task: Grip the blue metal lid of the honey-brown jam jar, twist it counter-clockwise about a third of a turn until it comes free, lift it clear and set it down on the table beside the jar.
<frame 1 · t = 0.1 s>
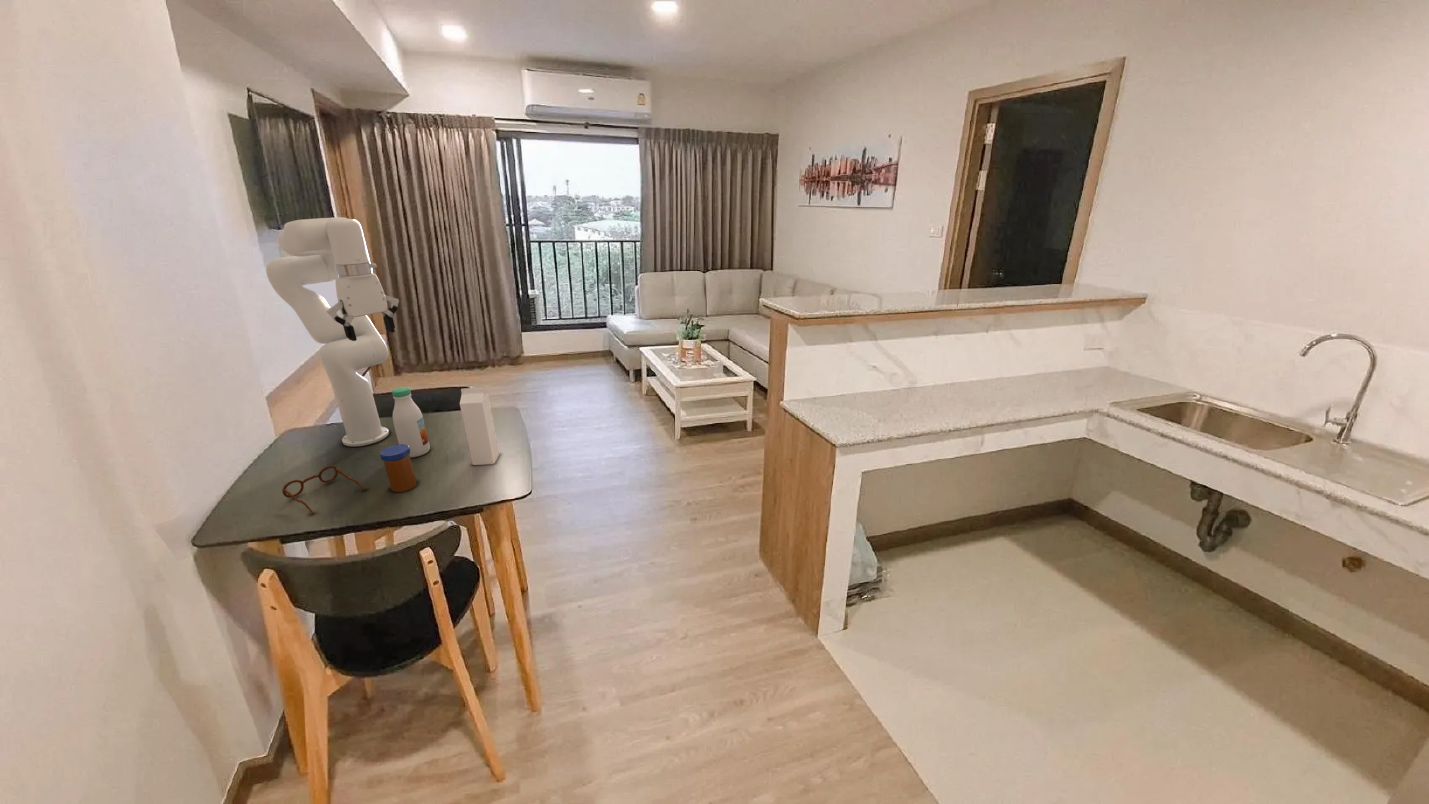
hand: (372, 335, 147), 37 cm above the table, tool pointing down, fingers open, 9 cm apart
milk bottle: (416, 452, 165), on the table
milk: (486, 460, 159), on the table
jar: (404, 486, 146), on the table
glasses: (326, 496, 143), on the table
lid: (394, 451, 142), point 10 cm above the table, screwed on, not yet turned
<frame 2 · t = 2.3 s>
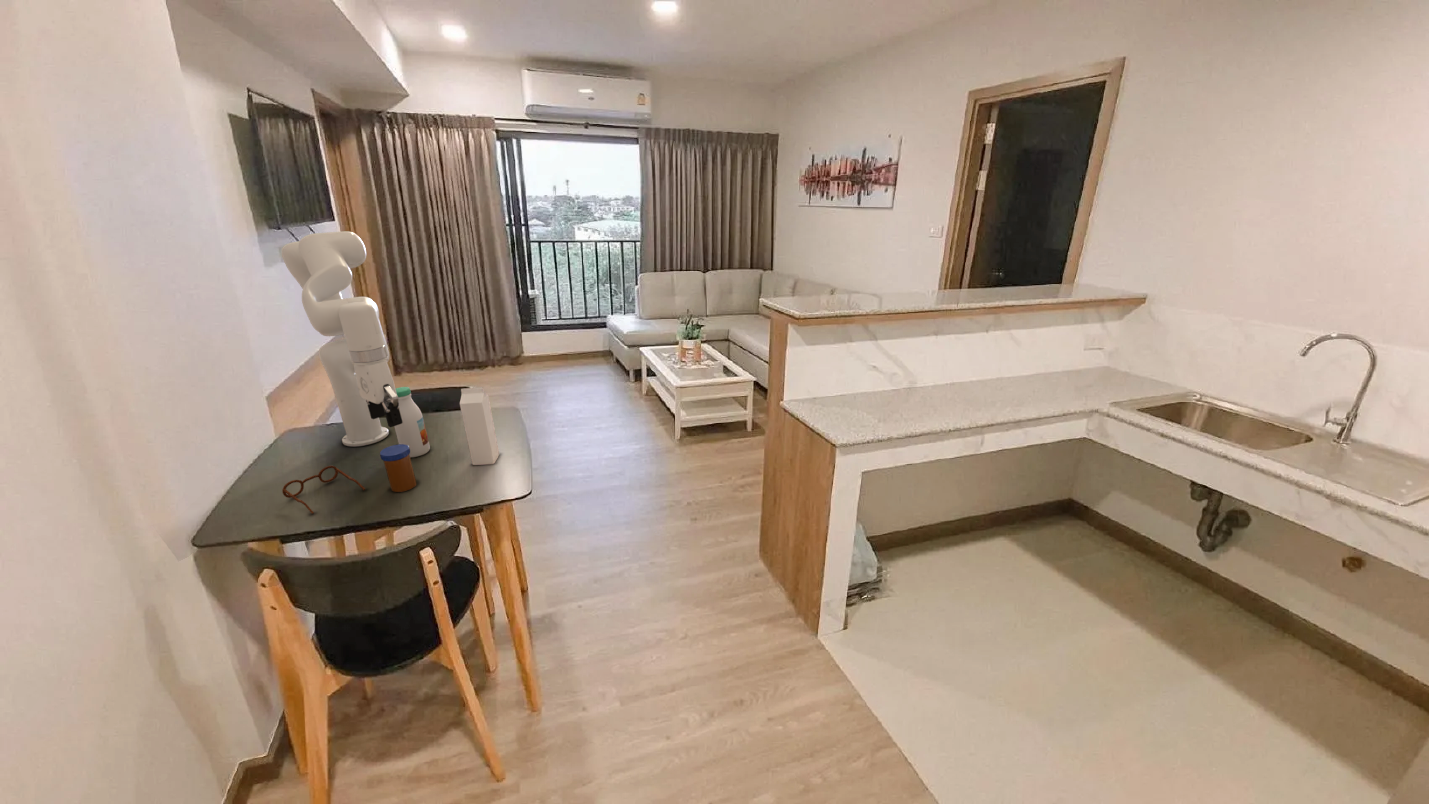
hand: (386, 421, 139), 19 cm above the table, tool pointing down, fingers open, 8 cm apart
nothing on the table moved.
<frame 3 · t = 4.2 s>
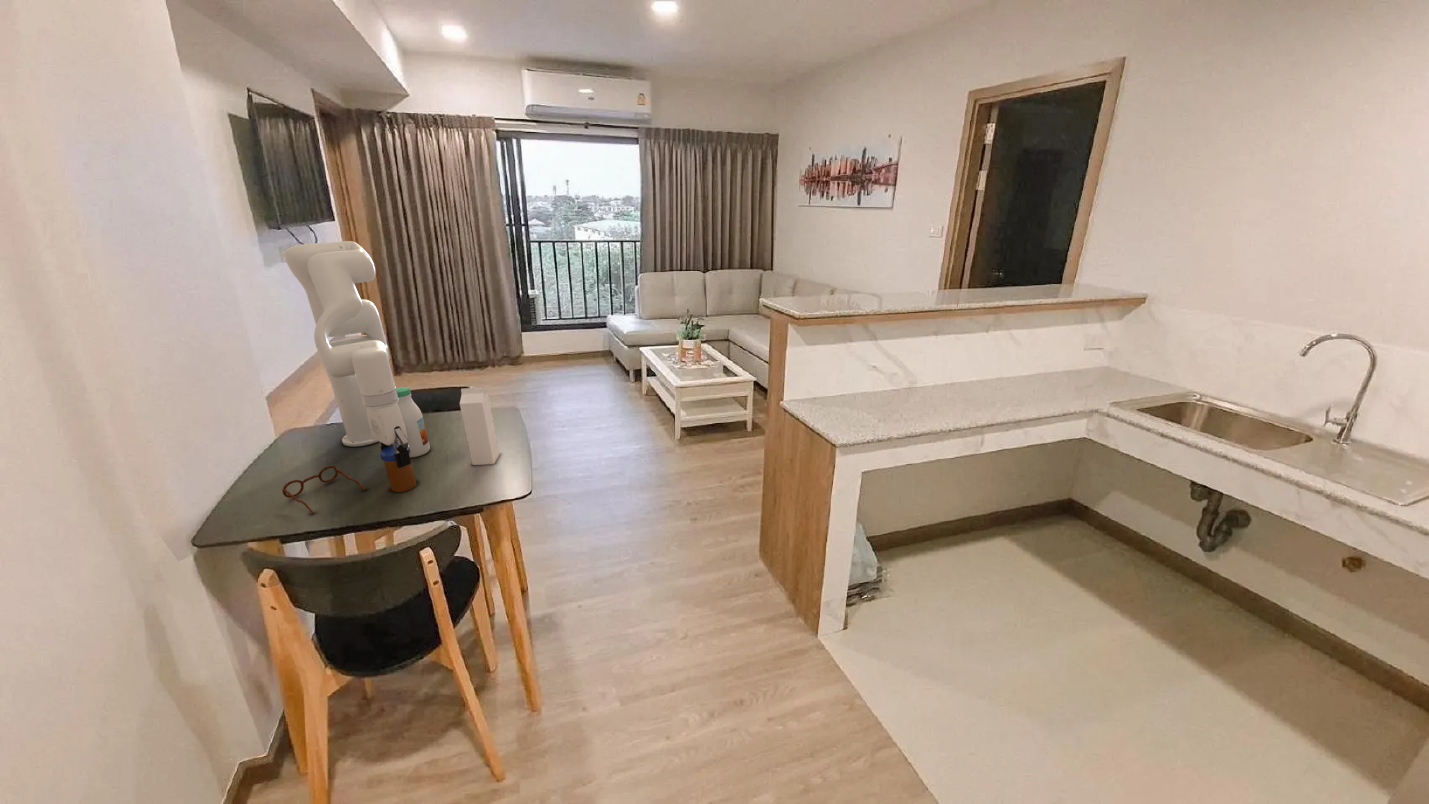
hand: (397, 461, 144), 7 cm above the table, tool pointing down, fingers closed on lid, 6 cm apart
lid: (394, 451, 142), point 10 cm above the table, screwed on, not yet turned, touching gripper
everything else where it was.
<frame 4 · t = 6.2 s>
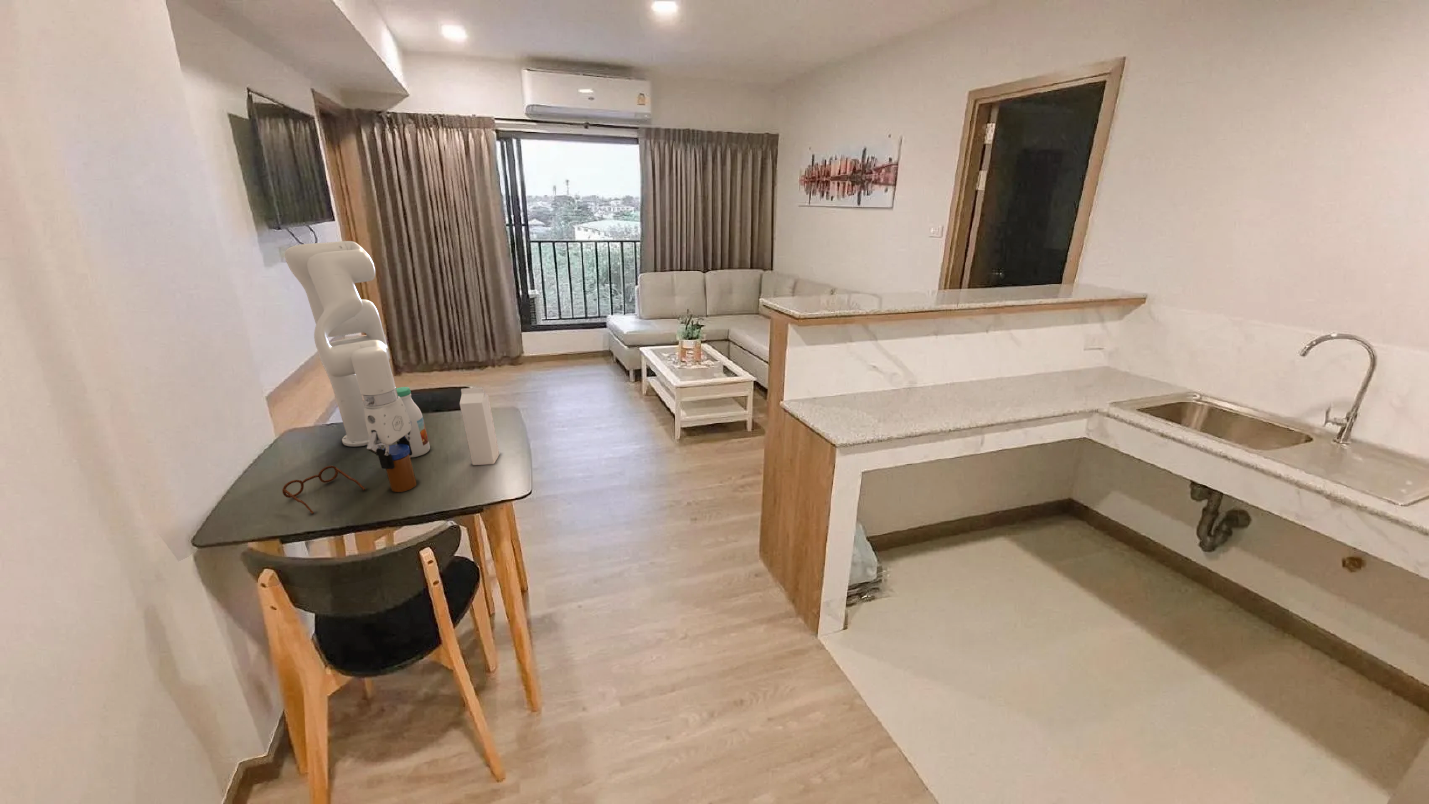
hand: (397, 460, 143), 8 cm above the table, tool pointing down, fingers closed on lid, 6 cm apart
lid: (394, 450, 142), point 10 cm above the table, off its thread, touching gripper
everything else where it was.
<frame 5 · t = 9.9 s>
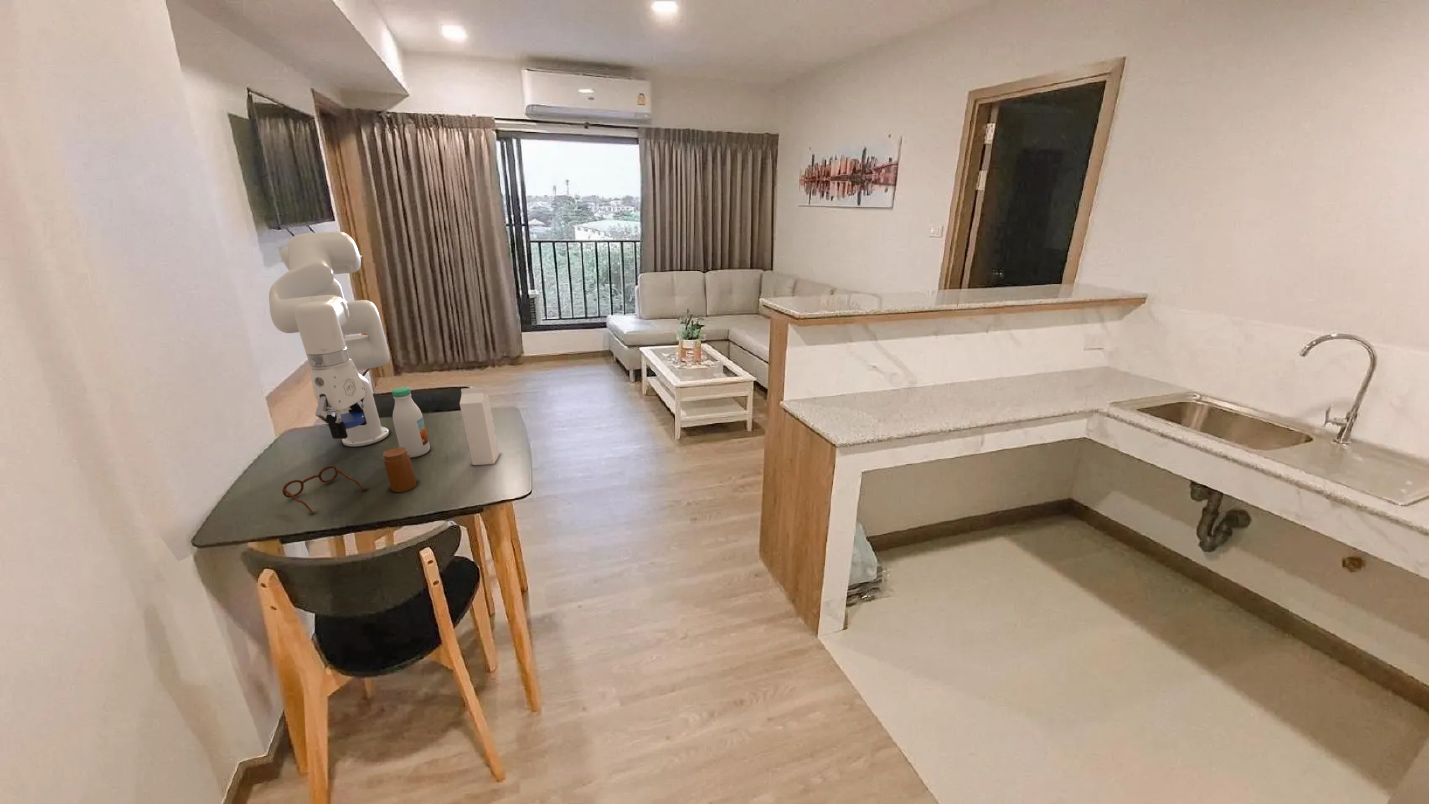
hand: (350, 430, 130), 21 cm above the table, tool pointing down, fingers closed on lid, 6 cm apart
lid: (346, 419, 128), point 24 cm above the table, off its thread, touching gripper
everything else where it was.
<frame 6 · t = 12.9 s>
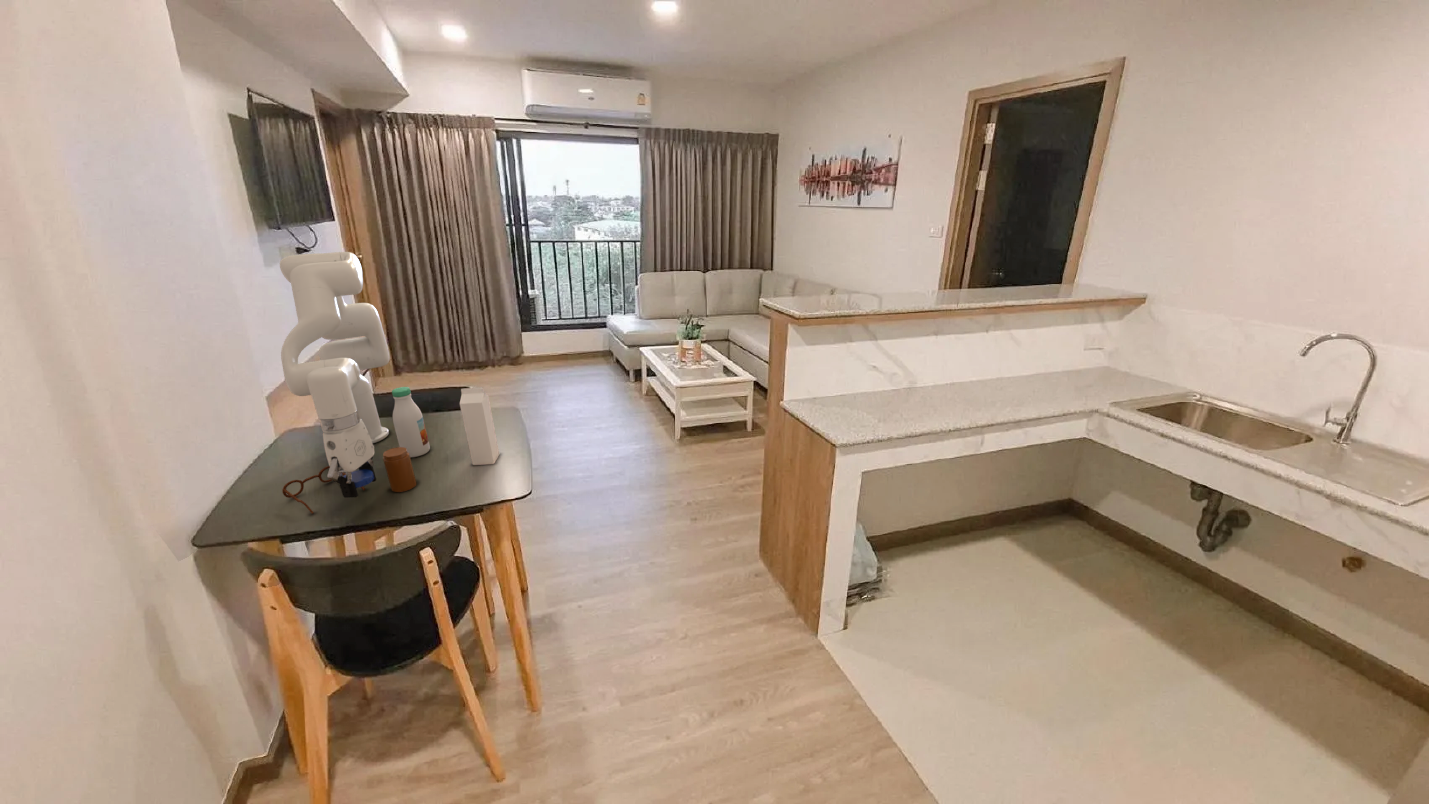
hand: (360, 488, 133), 6 cm above the table, tool pointing down, fingers closed on lid, 6 cm apart
lid: (357, 477, 132), point 9 cm above the table, off its thread, touching gripper
everything else where it was.
when the fingers open (0 cm above the table, at t = 15.5 s): lid drops 2 cm, point 1 cm above the table.
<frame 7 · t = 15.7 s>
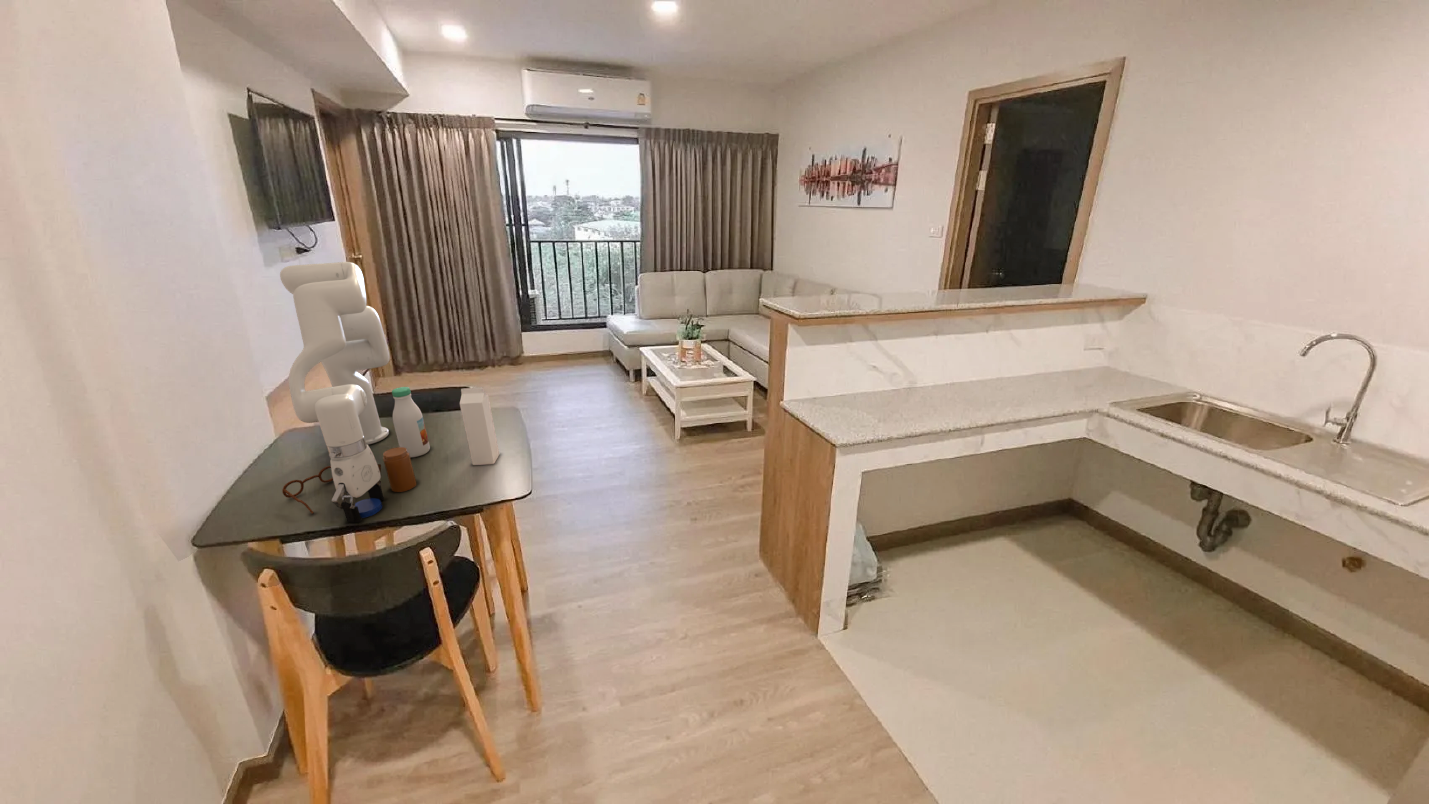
hand: (366, 510, 136), 0 cm above the table, tool pointing down, fingers open, 8 cm apart
lid: (365, 506, 135), point 1 cm above the table, off its thread
everything else where it was.
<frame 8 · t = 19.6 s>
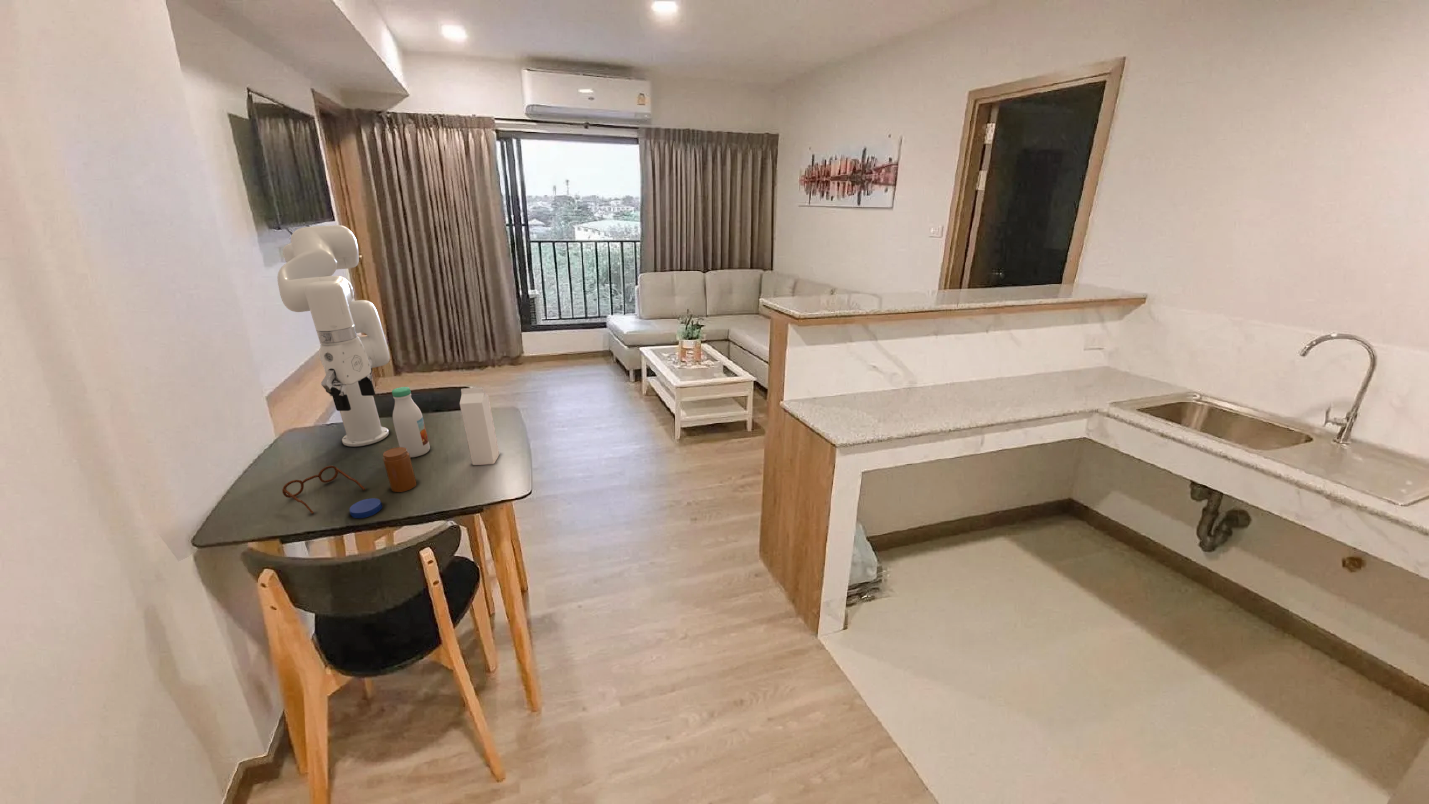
hand: (356, 402, 136), 24 cm above the table, tool pointing down, fingers open, 9 cm apart
nothing on the table moved.
at the end: lid came off its thread; lid point 1.1 cm above the table; the gripper is holding nothing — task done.
